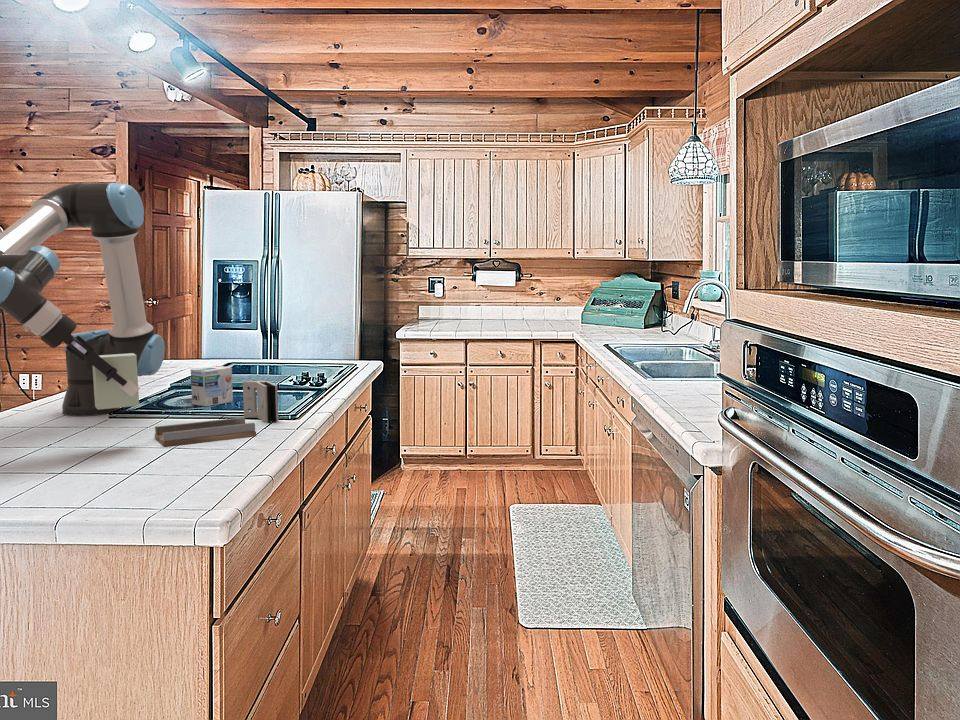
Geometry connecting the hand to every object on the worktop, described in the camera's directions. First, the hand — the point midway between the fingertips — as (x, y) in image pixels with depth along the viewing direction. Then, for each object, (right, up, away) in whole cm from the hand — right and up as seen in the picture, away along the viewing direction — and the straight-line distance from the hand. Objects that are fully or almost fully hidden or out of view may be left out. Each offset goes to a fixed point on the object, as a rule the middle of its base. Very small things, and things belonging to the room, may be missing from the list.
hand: (133, 390), depth 199 cm
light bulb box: (+1, -6, +56) cm, 57 cm away
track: (+14, -12, +11) cm, 21 cm away
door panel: (-3, -4, -2) cm, 5 cm away
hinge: (+22, -9, +33) cm, 41 cm away
